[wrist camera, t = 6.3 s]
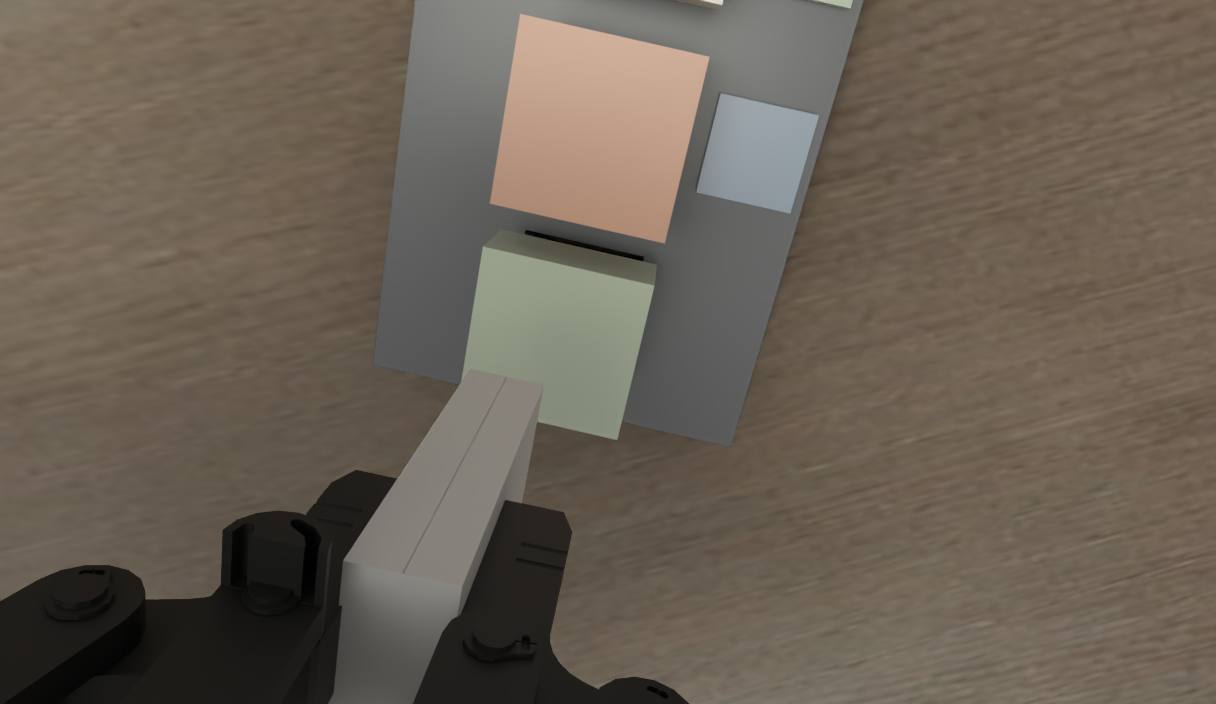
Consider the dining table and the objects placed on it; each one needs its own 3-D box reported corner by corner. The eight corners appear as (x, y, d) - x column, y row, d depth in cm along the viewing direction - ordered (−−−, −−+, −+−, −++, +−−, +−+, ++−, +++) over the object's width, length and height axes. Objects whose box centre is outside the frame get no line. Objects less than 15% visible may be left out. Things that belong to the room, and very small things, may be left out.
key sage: (627, 378, 29) (617, 440, 24) (493, 347, 29) (457, 403, 24) (659, 246, 27) (654, 285, 22) (516, 213, 27) (482, 246, 22)
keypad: (727, 417, 31) (731, 455, 28) (395, 341, 31) (366, 371, 28) (974, -433, 22) (1018, -507, 19) (506, -537, 22) (480, -626, 19)
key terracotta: (667, 210, 26) (664, 243, 22) (523, 178, 26) (489, 203, 22) (704, 56, 25) (709, 56, 20) (549, 21, 25) (520, 13, 20)
